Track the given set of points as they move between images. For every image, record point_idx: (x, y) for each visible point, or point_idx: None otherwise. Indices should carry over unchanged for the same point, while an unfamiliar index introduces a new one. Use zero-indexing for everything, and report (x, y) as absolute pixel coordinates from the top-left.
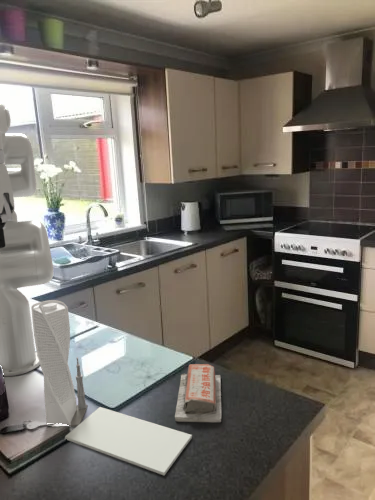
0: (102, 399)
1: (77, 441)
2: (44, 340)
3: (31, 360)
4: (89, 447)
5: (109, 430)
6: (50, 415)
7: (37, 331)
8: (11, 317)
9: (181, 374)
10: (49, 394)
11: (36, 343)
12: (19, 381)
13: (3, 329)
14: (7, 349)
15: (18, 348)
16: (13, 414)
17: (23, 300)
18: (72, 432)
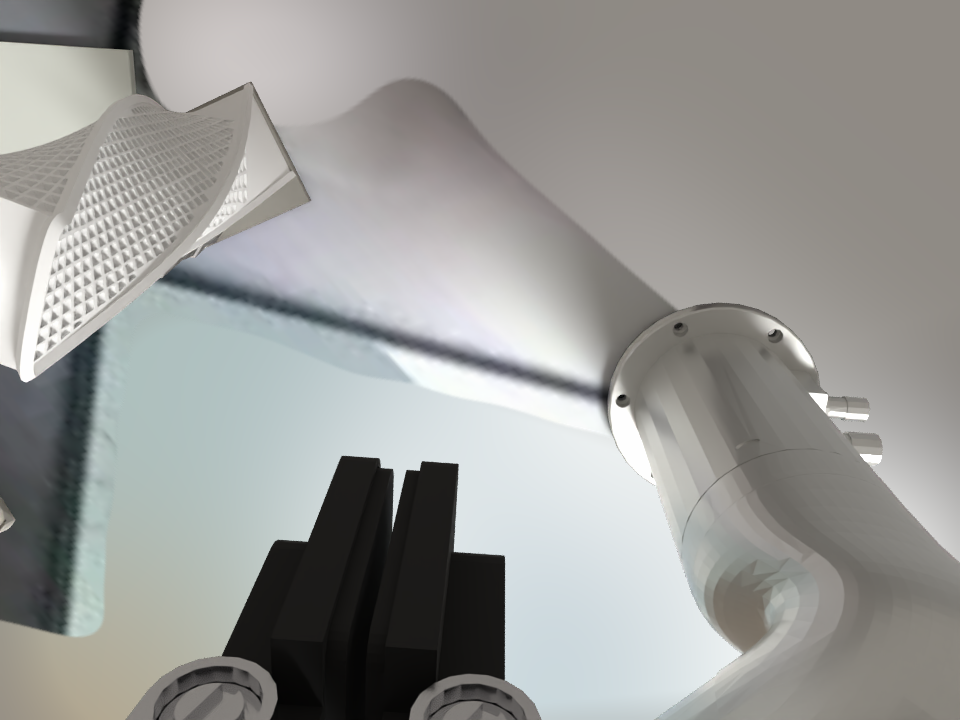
0: (187, 306)
1: (68, 46)
2: (44, 145)
3: (637, 417)
4: (16, 42)
5: (10, 143)
6: (230, 103)
7: (74, 158)
8: (716, 479)
9: (4, 524)
10: (206, 125)
11: (97, 123)
12: (602, 297)
13: (748, 422)
14: (712, 377)
15: (669, 404)
16: (439, 99)
17: (709, 605)
18: (122, 81)
